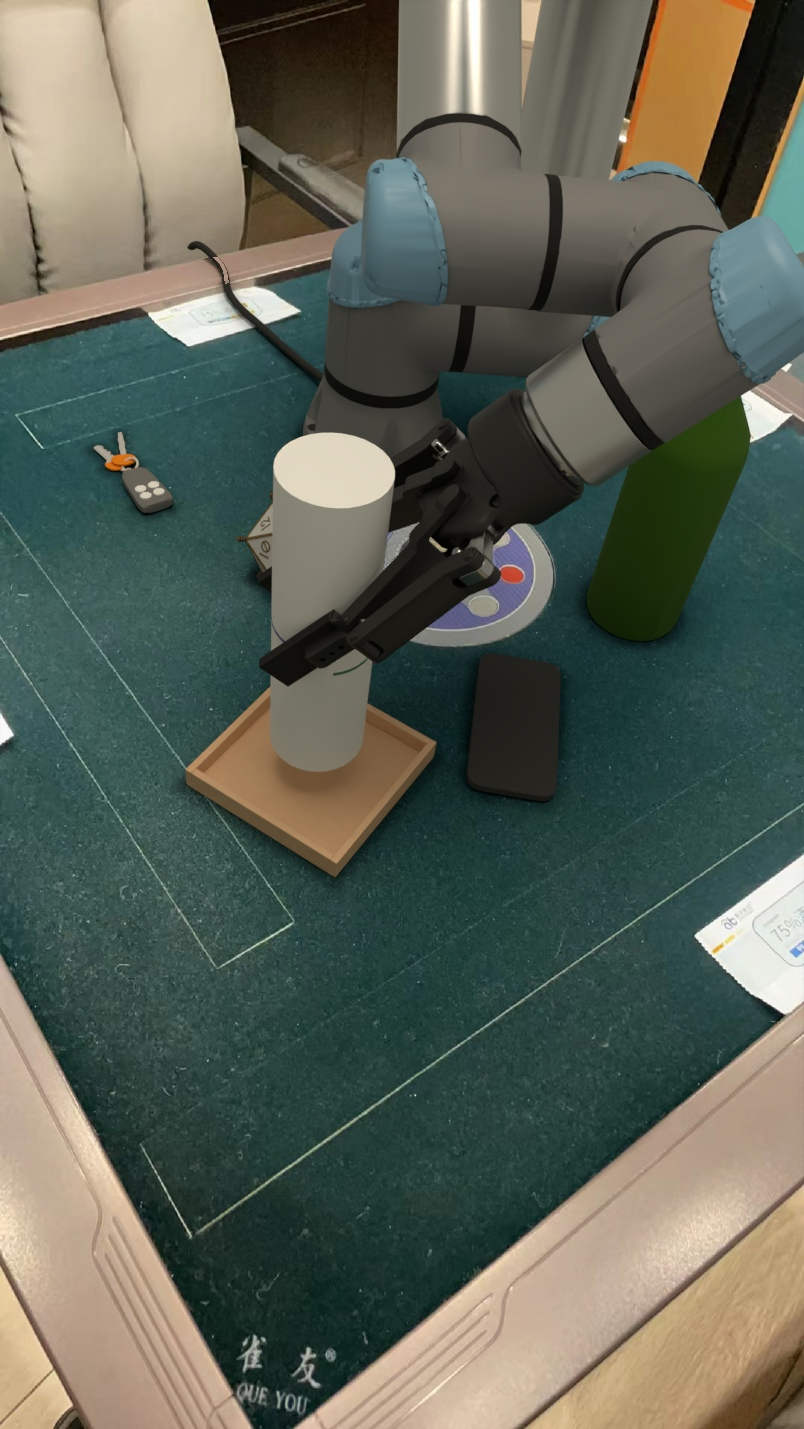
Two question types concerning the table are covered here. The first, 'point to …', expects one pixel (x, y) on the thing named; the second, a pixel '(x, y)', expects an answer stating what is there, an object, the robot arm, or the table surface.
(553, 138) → the robot arm
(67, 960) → the table surface
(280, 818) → the tray
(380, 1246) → the table surface
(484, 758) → the phone
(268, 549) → the game die
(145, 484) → the key chain
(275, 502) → the cylindrical container
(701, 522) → the wine bottle
